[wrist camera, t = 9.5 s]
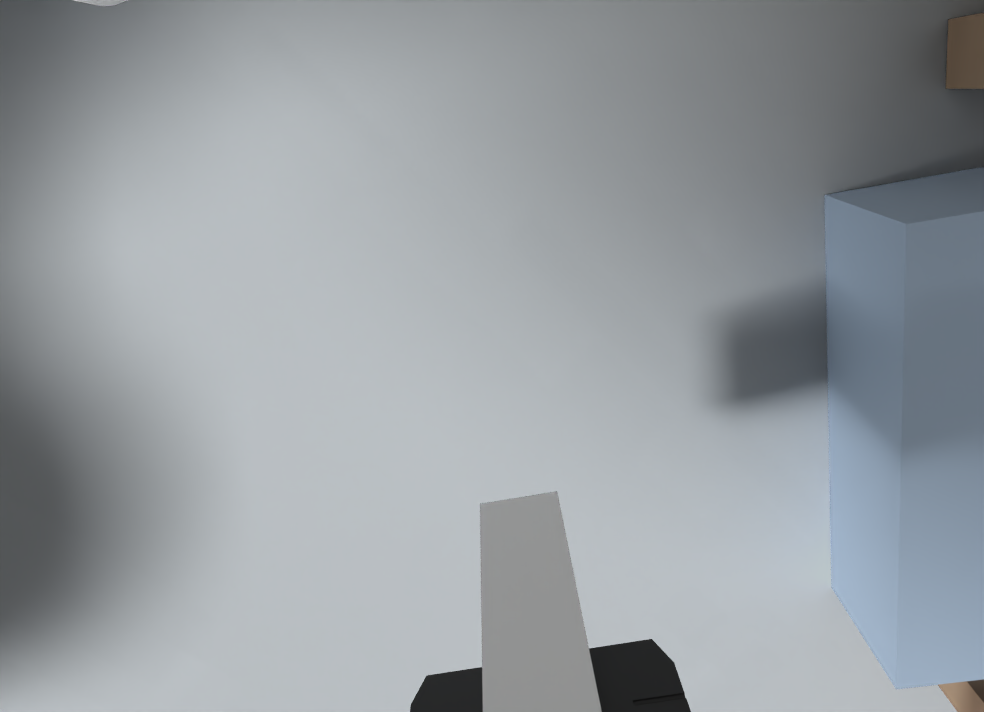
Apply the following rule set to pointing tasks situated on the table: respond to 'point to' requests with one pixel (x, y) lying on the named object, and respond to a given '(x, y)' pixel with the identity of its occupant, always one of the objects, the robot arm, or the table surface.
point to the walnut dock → (970, 65)
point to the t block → (909, 421)
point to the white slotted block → (102, 2)
